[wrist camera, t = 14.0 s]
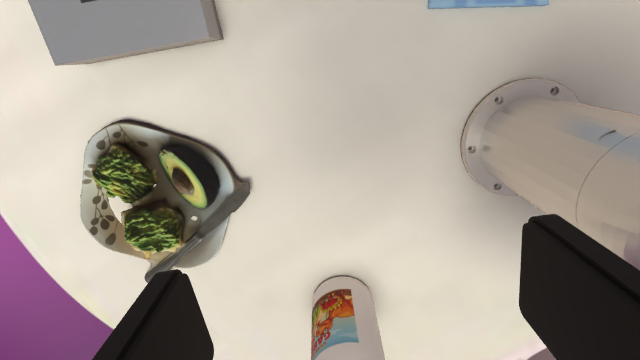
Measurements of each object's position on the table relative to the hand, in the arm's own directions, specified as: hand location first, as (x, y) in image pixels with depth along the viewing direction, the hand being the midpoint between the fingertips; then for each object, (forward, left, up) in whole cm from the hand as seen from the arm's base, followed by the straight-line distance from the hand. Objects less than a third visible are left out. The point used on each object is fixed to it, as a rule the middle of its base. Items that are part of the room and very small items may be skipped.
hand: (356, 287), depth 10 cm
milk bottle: (+2, +24, -28) cm, 37 cm away
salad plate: (+20, +6, -29) cm, 36 cm away
